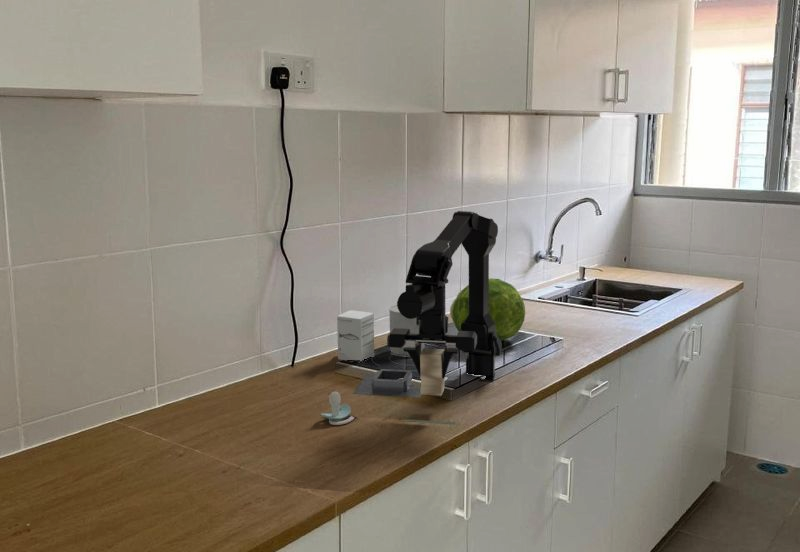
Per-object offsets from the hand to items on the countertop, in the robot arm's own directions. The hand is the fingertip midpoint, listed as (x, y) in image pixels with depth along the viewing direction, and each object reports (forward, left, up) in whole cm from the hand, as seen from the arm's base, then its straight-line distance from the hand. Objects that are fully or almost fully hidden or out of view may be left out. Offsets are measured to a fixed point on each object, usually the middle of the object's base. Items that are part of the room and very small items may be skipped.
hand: (432, 377), depth 175 cm
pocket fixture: (+12, -14, -8) cm, 20 cm away
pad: (0, 0, -8) cm, 8 cm away
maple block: (0, 0, -3) cm, 3 cm away
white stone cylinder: (+14, -43, -9) cm, 46 cm away
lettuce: (-5, -56, -9) cm, 57 cm away
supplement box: (+26, -34, -9) cm, 44 cm away
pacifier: (+19, +7, -9) cm, 22 cm away
